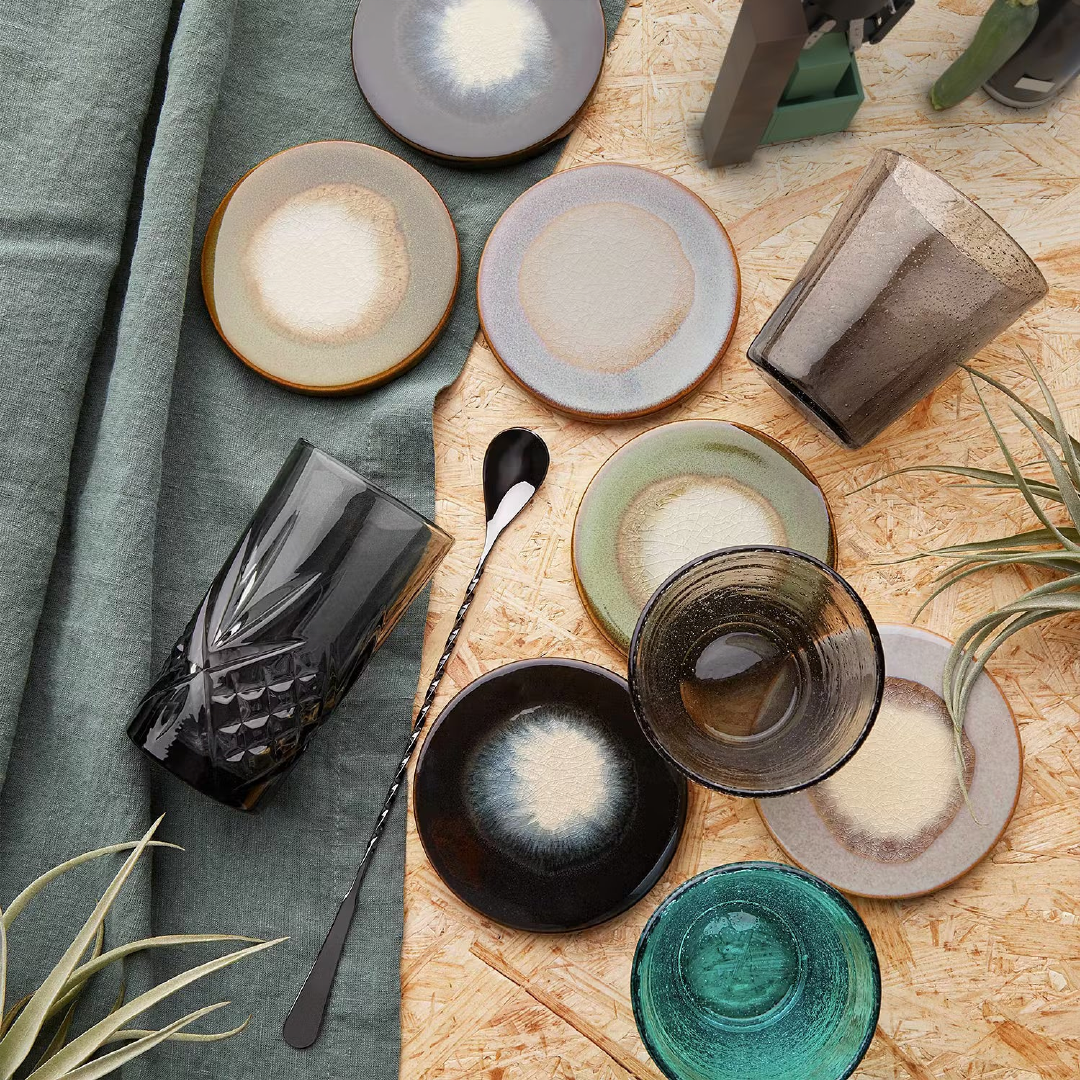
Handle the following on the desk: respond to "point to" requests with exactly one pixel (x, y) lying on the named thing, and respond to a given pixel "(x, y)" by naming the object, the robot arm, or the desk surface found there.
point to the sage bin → (817, 110)
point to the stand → (752, 78)
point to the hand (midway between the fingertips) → (805, 70)
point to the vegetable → (986, 50)
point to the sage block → (819, 67)
